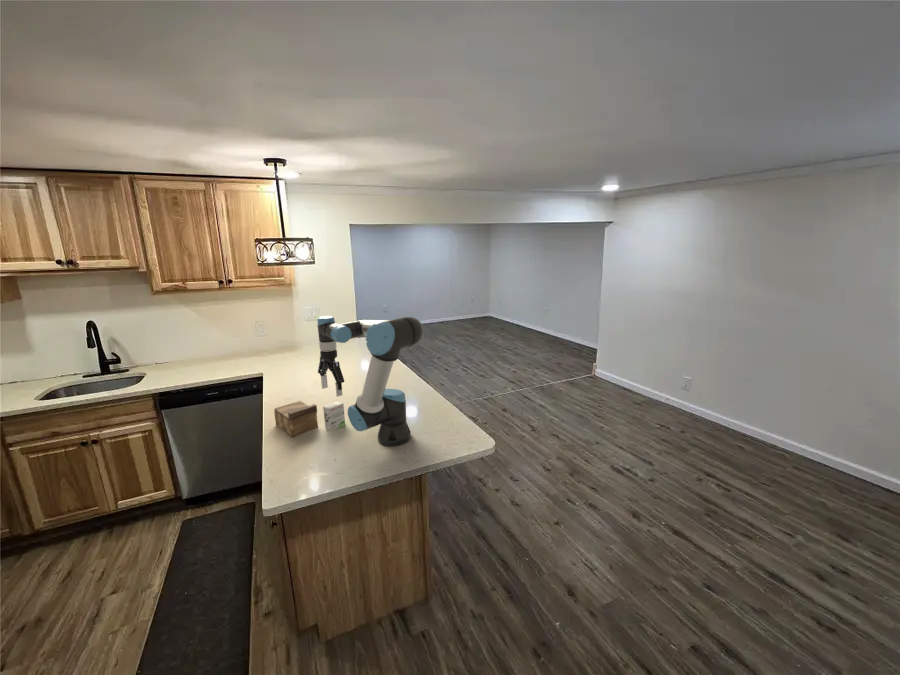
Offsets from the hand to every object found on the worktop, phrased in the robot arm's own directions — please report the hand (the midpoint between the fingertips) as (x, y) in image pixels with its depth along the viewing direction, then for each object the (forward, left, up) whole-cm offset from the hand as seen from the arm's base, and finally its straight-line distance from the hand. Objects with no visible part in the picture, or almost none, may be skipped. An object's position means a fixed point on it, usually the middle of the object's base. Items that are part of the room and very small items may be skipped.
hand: (332, 391), depth 192 cm
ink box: (0, 0, -18) cm, 18 cm away
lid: (+13, +13, -10) cm, 21 cm away
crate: (+14, +13, -18) cm, 26 cm away
